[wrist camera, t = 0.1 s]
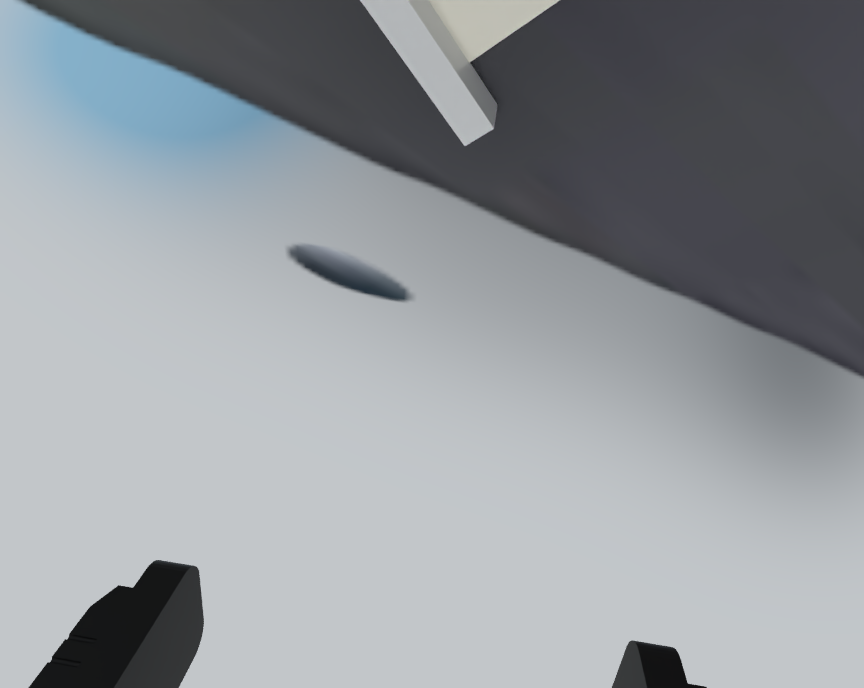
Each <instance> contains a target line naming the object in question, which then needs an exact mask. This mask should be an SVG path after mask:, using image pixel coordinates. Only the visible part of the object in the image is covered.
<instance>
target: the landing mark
mask: <svg viewBox="0 0 864 688" xmlns="http://www.w3.org/2000/svg"><path fill="white" fill-rule="evenodd" d="M558 1H560V0H429V2H430V3H431V5H432V7H433V8H434V10H435V11H436V13H437V14H438V16H439V17H440V19H441V20H442V22H443V23H444V25H445V26H446V28H447V30H448V31H449V33H450V34H451V36H452V37H453V39H454V40H455V42H456V43H457V45H458V46H459V48H460V50H461V51H462V53H463V54H464V56H465V57H466V59H467V60H468V62H469V63H470V62H471V61H473V60H474V59H475V58H477V57H478V56H480V55H481V54H483V53H484V52H486V51H487V50H488V49H490V48H491V47H493V46H494V45H496V44H497V43H499V42H500V41H502V40H503V39H504V38H506V37H507V36H509V35H510V34H512V33H513V32H515V31H516V30H517V29H519V28H520V27H522V26H523V25H525V24H526V23H528V22H529V21H531V20H532V19H533V18H535V17H536V16H538V15H539V14H541V13H542V12H544V11H545V10H547V9H548V8H549V7H551V6H552V5H554V4H555V3H557V2H558Z"/></svg>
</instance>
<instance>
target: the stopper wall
mask: <svg viewBox="0 0 864 688" xmlns="http://www.w3.org/2000/svg"><path fill="white" fill-rule="evenodd" d="M360 1H361V2H362V4H363V5H364V6H365V8H366V9H367V10H368V12H369V13H370V15H371V16H372V17H373V19H374V20H375V22H376V23H377V24H378V26H379V27H380V29H381V30H382V31H383V33H384V34H385V36H386V37H387V38H388V40H389V41H390V43H391V44H392V45H393V47H394V48H395V50H396V51H397V52H398V54H399V55H400V57H401V58H402V59H403V61H404V62H405V64H406V65H407V66H408V68H409V69H410V71H411V72H412V73H413V75H414V76H415V77H416V79H417V80H418V82H419V83H420V84H421V86H422V87H423V89H424V90H425V91H426V93H427V94H428V96H429V97H430V98H431V100H432V101H433V103H434V104H435V105H436V107H437V108H438V110H439V111H440V112H441V114H442V115H443V117H444V118H445V119H446V121H447V122H448V124H449V125H450V126H451V128H452V129H453V131H454V132H455V133H456V135H457V136H458V137H459V139H460V140H461V142H462V143H463V144H464V146H466V145H468V144H469V143H471V142H473V141H474V140H476V139H478V138H479V137H481V136H483V135H484V134H486V133H488V132H489V131H491V130H493V129H494V126H495V119H496V112H497V106H498V104H497V103H496V101H495V100H494V98H493V97H492V95H491V94H490V92H489V91H488V89H487V88H486V86H485V84H484V83H483V81H482V80H481V78H480V77H479V75H478V74H477V72H476V71H475V69H474V68H473V66H472V64H471V63H469V62H468V60H467V59H466V57H465V56H464V54H463V53H462V51H461V50H460V48H459V46H458V45H457V43H456V42H455V40H454V39H453V37H452V36H451V34H450V33H449V31H448V30H447V28H446V26H445V25H444V23H443V22H442V20H441V19H440V17H439V16H438V14H437V13H436V11H435V10H434V8H433V7H432V5H431V3H430V2H429V0H360Z"/></svg>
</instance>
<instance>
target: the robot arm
mask: <svg viewBox="0 0 864 688" xmlns="http://www.w3.org/2000/svg"><path fill="white" fill-rule="evenodd" d="M203 624H204V618H203V609H202V597H201V587H200V577H199V570H198V568H197V567H195V566H191V565H185V564H178V563H173V562H167V561H161V560H156V561H154V562H153V563H151V564H150V565H149V567H148V568H147V569H146V571H145V572H144V573H143V575H142V576H141V578H140V579H139V580H138V582H137V583H136V585H135V586H134V587H133V588H130V587H125V586H117V587H116V588H115V589H113V590H112V591H111V592H109V593H108V594H107V595H105V596H104V597H103V598H101V599H100V600H99V601H97V602H96V603H95V604H93V605H92V606H91V607H90V608H89V609H88V610H87V612H86V613H85V614H84V615H83V617H82V618H81V619H80V621H79V622H78V623H77V625H76V626H75V627H74V629H73V630H72V631H71V633H70V634H69V638H68V639H67V640H65V641H64V642H63V643H62V644H61V646H60V647H59V648H58V650H57V651H56V652H55V654H54V655H53V656H52V660H51V662H50V663H47V664H46V666H45V667H44V668H43V669H42V671H41V672H40V673H39V675H38V676H37V677H36V679H35V680H34V681H33V683H32V684H31V685H30V687H29V688H179V686H180V683H181V682H182V680H183V678H184V676H185V674H186V672H187V670H188V669H189V666H190V665H191V663H192V661H193V659H194V657H195V655H196V652H197V650H198V647H199V644H200V641H201V637H202V632H203ZM612 688H707V687H704V686H698V685H692V684H688V683H687V680H686V676H685V673H684V669H683V666H682V663H681V659H680V656H679V654H678V652H677V651H676V649H675V648H673V647H667V646H662V645H656V644H650V643H644V642H638V641H630V642H629V644H628V645H627V648H626V650H625V653H624V656H623V659H622V661H621V664H620V667H619V670H618V672H617V675H616V678H615V681H614V683H613V686H612Z"/></svg>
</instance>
